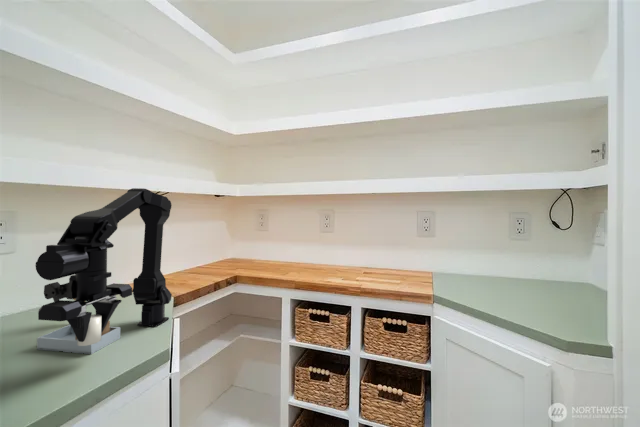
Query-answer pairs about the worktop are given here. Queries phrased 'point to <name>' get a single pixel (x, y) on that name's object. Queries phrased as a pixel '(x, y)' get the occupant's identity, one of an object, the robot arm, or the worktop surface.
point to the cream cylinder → (92, 331)
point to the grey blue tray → (74, 341)
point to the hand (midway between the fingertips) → (91, 336)
